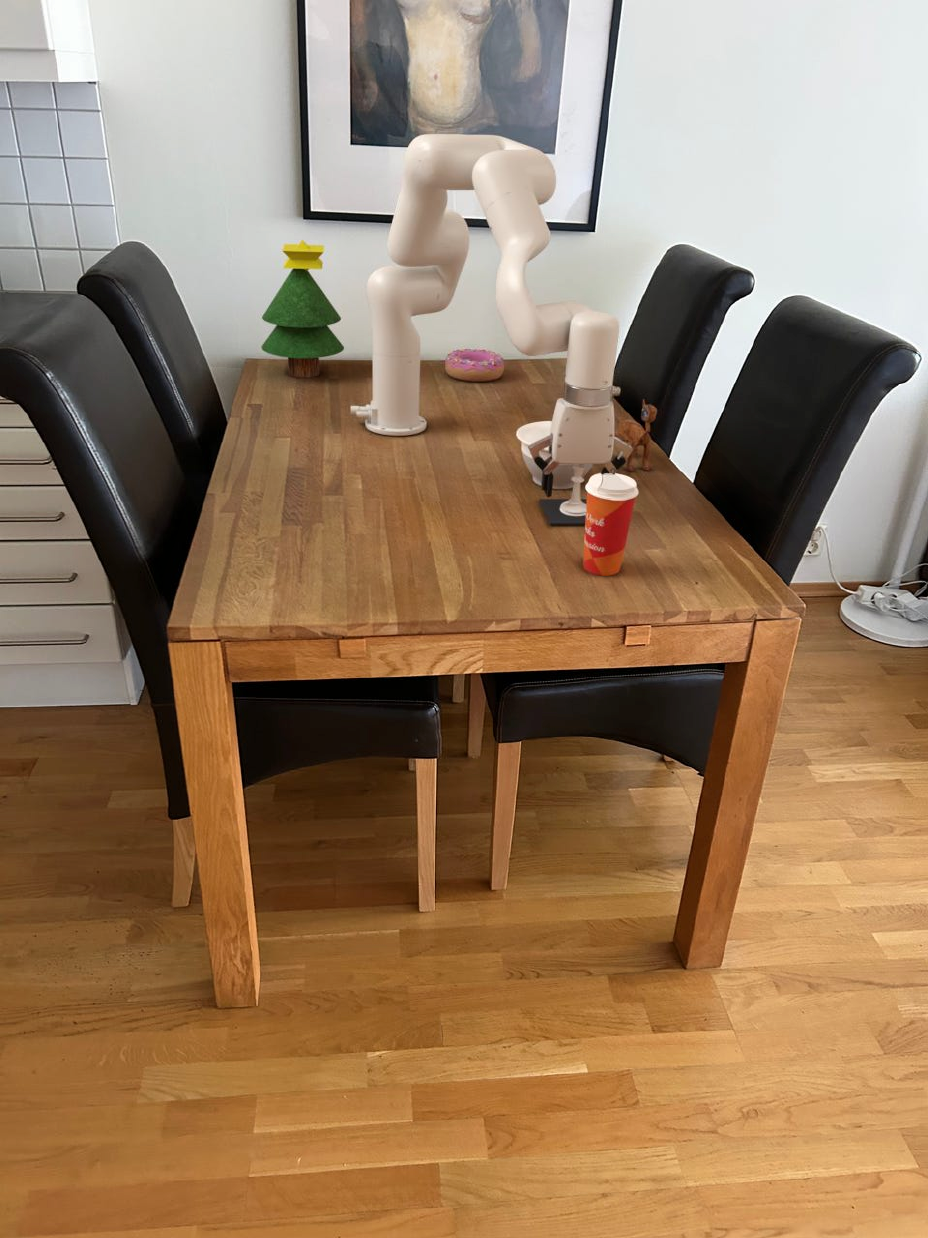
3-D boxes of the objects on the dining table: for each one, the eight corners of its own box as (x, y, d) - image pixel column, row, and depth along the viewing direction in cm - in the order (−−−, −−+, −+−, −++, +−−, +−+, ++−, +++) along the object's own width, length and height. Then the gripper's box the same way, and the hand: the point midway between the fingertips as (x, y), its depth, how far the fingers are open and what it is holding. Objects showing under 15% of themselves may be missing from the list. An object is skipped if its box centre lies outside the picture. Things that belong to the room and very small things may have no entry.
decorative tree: (266, 361, 230) (258, 231, 215) (344, 362, 233) (342, 233, 217) (260, 384, 214) (250, 245, 199) (344, 385, 216) (341, 247, 201)
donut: (503, 385, 222) (505, 364, 220) (444, 382, 222) (444, 361, 219) (502, 368, 235) (503, 348, 232) (445, 365, 234) (446, 345, 232)
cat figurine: (592, 443, 190) (600, 376, 183) (622, 441, 191) (631, 375, 185) (628, 476, 175) (638, 404, 168) (660, 474, 177) (672, 403, 170)
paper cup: (571, 555, 145) (581, 470, 138) (620, 555, 146) (632, 471, 139) (581, 579, 138) (592, 491, 131) (632, 579, 139) (645, 492, 132)
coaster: (550, 526, 154) (550, 523, 154) (539, 501, 163) (539, 499, 163) (609, 525, 155) (609, 522, 155) (595, 501, 164) (595, 498, 164)
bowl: (576, 504, 162) (581, 457, 158) (497, 482, 169) (500, 437, 165) (613, 477, 174) (619, 433, 170) (538, 457, 181) (542, 414, 177)
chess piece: (591, 507, 160) (598, 452, 155) (585, 518, 156) (591, 461, 151) (563, 502, 162) (569, 447, 156) (556, 513, 158) (562, 457, 152)
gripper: (633, 387, 153) (619, 485, 162) (529, 386, 151) (521, 485, 159) (646, 401, 146) (631, 502, 155) (537, 400, 144) (528, 503, 153)
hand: (575, 493), depth 157 cm, fingers open, 9 cm apart
